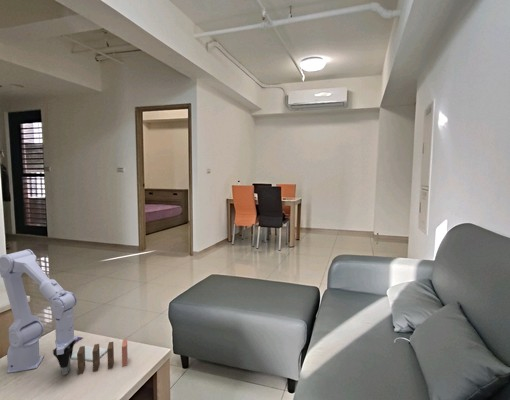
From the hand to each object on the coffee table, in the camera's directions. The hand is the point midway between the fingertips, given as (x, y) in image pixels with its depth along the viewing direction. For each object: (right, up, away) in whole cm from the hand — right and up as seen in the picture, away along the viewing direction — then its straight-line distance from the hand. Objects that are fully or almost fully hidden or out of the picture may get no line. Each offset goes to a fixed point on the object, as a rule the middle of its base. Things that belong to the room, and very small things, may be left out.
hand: (66, 362), depth 113 cm
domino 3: (+9, -4, +4) cm, 11 cm away
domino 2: (+5, -4, +2) cm, 6 cm away
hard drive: (+2, -4, +12) cm, 13 cm away
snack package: (-11, -3, +19) cm, 22 cm away
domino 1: (0, -3, 0) cm, 3 cm away
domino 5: (+19, -4, +7) cm, 20 cm away
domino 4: (+14, -4, +5) cm, 16 cm away
